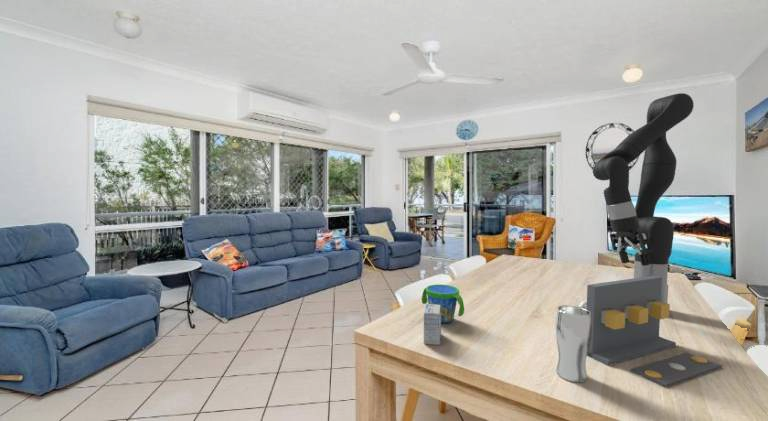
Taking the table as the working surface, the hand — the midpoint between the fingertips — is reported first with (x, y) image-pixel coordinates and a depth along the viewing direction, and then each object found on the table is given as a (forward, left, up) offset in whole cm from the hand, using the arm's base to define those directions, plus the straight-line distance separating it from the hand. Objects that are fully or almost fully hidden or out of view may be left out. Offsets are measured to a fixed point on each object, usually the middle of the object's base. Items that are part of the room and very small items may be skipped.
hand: (635, 264), depth 110 cm
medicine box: (+72, -4, -18) cm, 74 cm away
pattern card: (+24, +27, -18) cm, 40 cm away
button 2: (+16, +14, -10) cm, 23 cm away
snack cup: (+63, -16, -18) cm, 67 cm away
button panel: (+25, +15, -18) cm, 34 cm away
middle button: (+25, +15, -10) cm, 31 cm away
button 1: (+34, +16, -10) cm, 39 cm away
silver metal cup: (+50, +22, -18) cm, 57 cm away
